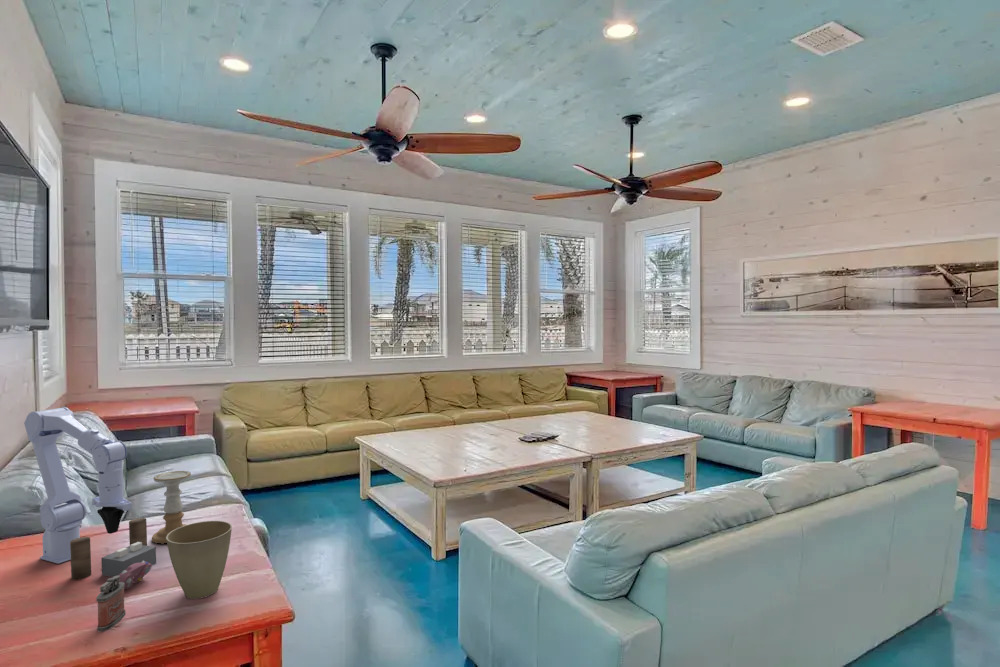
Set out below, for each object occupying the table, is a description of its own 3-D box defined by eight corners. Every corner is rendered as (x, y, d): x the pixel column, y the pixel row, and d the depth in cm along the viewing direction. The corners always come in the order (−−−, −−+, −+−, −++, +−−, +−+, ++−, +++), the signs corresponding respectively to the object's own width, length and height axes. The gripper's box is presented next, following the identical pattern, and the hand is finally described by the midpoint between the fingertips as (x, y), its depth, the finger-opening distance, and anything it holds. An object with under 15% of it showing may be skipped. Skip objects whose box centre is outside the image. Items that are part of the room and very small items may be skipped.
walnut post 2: (126, 555, 169) (125, 522, 169) (140, 549, 174) (140, 517, 173) (136, 557, 168) (135, 524, 167) (150, 551, 172) (149, 519, 171)
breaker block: (101, 575, 157) (101, 552, 156) (135, 560, 166) (134, 538, 166) (123, 579, 154) (122, 555, 154) (156, 564, 164) (155, 541, 163)
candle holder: (182, 544, 177) (180, 480, 176) (142, 544, 177) (141, 480, 177) (203, 529, 189) (201, 469, 189) (166, 529, 190) (164, 469, 189)
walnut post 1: (67, 578, 155) (66, 541, 155) (84, 571, 159) (83, 535, 159) (77, 580, 153) (76, 544, 153) (94, 574, 157) (93, 538, 157)
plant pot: (172, 585, 150) (170, 525, 149) (234, 575, 156) (232, 517, 155) (163, 612, 136) (161, 546, 136) (232, 599, 142) (230, 536, 141)
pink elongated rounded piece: (117, 600, 145) (127, 577, 145) (103, 591, 146) (113, 568, 145) (148, 582, 155) (157, 560, 154) (135, 574, 156) (144, 552, 155)
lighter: (114, 613, 136) (113, 571, 136) (129, 612, 136) (128, 571, 136) (93, 631, 128) (91, 588, 128) (109, 630, 128) (107, 587, 128)
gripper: (80, 486, 161) (81, 533, 162) (113, 492, 156) (114, 541, 156) (105, 479, 168) (107, 525, 168) (138, 484, 162) (139, 532, 162)
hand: (112, 532), depth 163 cm, fingers closed
